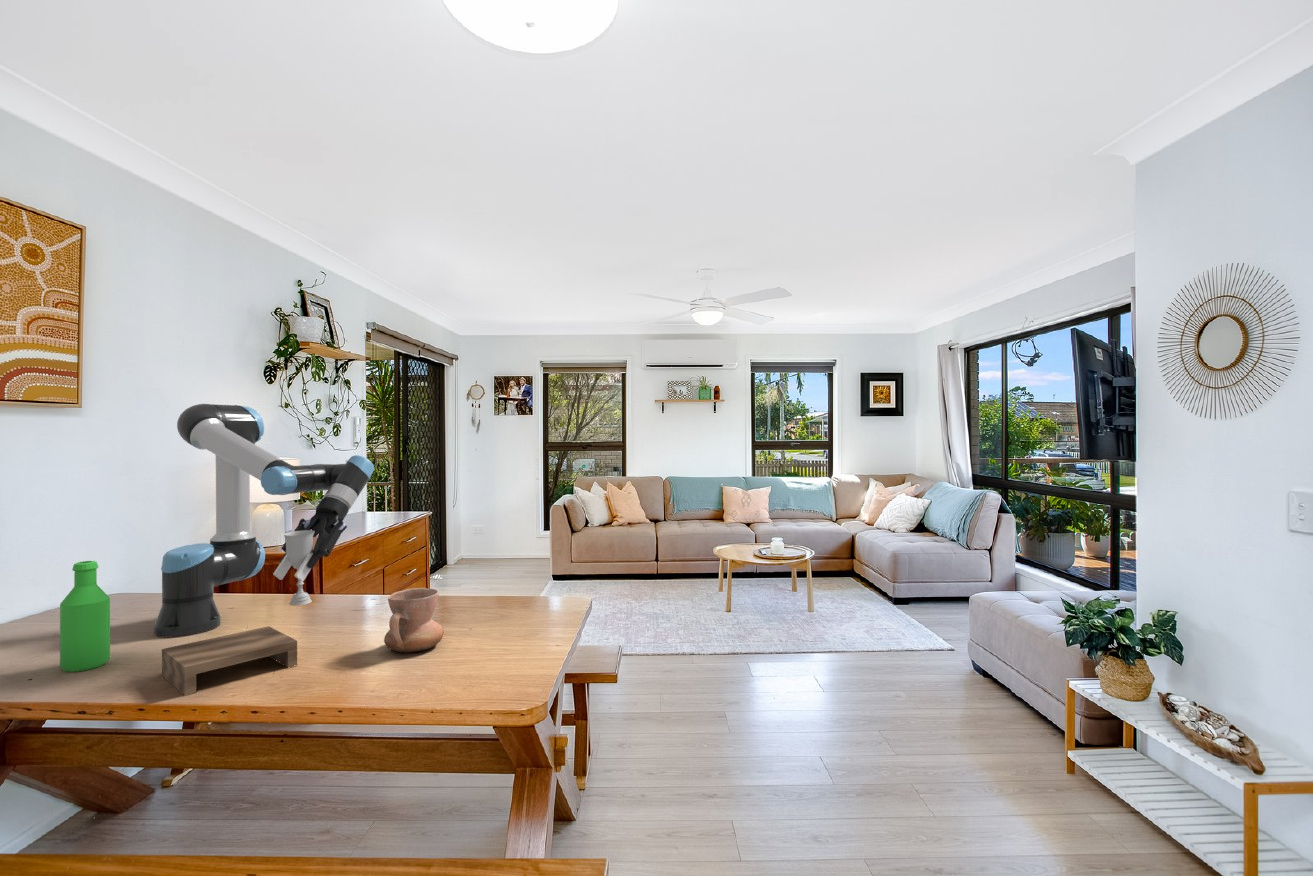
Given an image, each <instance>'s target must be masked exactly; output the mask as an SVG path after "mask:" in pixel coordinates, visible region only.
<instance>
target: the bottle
mask: <svg viewBox="0 0 1313 876" xmlns="http://www.w3.org/2000/svg"><path fill="white" fill-rule="evenodd" d="M97 569H99V564H98V562H97V561H96V560H85V561H84V560H83V561H79V562H76V563H74V564H73V566H72V571H73V572H74V577H73V578H74V580H73V581H74V582H73V583H74V585H73V587H72V589H71V590H70V591H69V592H68V594H67V595H66V596H65V598H64V599H63V600H62V601H61V602H60V604H59V606H60V607H59V668H60V670H63V671H65V672H68V673H69V672H70V673H76V672H83V671H84V672H85V671H89V670H93V669H96V668H99V667H102V666H104V665H105V664H106V663H107V662H108V661H110V660H111V597H110V596H109V595H108V594H107V593H106V592H105V591H104V590H103V589H102V588H101V587H100V586H99V585H98V584H97V579H98V578H97V576H98V575H97V572H98V571H97Z"/></svg>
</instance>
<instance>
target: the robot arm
mask: <svg viewBox="0 0 1313 876" xmlns="http://www.w3.org/2000/svg"><path fill="white" fill-rule="evenodd" d="M176 424H177V425H176V428H177V432H178V435H180V437H181V438H182V440H184V442H186V443H187V444H189V445H190V446H192V447H194V448H196V449H199V450H206V451H208V452H211V454H214V455H215V525H216V526H215V534H214V535H213V536H212V537H210V539H209V543H206V542H205V543H194V544H187V545H183V546H180V547H175V548H172V549H170V550H168V551H166V553H165V554H164V555H162V560H161V561H162V562H161V567H160V569H161V600H162V601H161V603H162V604H161V607H160V610H159V612H158V615H157V618H156V621H155V622H154V626H153V628H154V629H153V634H154V636H157V637H161V638H162V636H163V637H164V638H166V636H167V638H169V636H174V637H183V636H189V635H197V634H201V633H204V632H208V631H212V630H213V629H212V628H214V629H216V628H218V627H219V626H220V625H221V624H220V623H221V618H222V617H221V615H220V612H219V609H218V607H217V605H216V603H215V602H216V601H215V600H214V587H216V586H217V587H218V586H220V585H225V584H229V583H233V582H240V581H244V580H246V579H249V578H251V577H253V576H254V577H255V575H257V574H259V572H260V571H261V570H262V568H263V566H264V564H265V561H266V560H265V559H266V551H265V548H264V547H263V544H262V543H261V542H260V541H259V540H257V538H256V536H257V535H256V534H254V533H253V532H252V531H251V508H250V507H251V505H250V502H251V501H250V498H251V495H250V494H251V493H250V492H251V491H250V487H251V485H250V479H251V478H250V476H252V477H254V478H255V479H257V480H258V481H260V485H261V487H262V489H263V491H264V492H265V493H266V494H268V495H271V496H286V495H290V494H291V495H292V494H300V493H311V492H322V491H326V492H325V493H324V494H323V495H324V496H323V498H321V500H320V501H319V502H318V504H317V506H316V508H315V514H314V515H312V516H311V517H310V519H305V518H300V520H299V522H298V524H297V526H296V528H295V529H294V530H293V531H304V530H311V531H315V533H314V535H313V538H316V537H317V538H316V541H315V544H314V545H313V550H312V551H313V552H312V551H311V552H312V554H311V553H309V554H308V555H307V557H306V558H305V560H304V561H303V563H302V565H301V566H300V568H299V569H298V570H297V571H296V572H295V574H294V577H295V578H296V579H297V580H298V579H299V580H300V581H303V582H304V581H305V580H306V578H307V576H308V574H310V572H311V569H314V568H315V566H316V565H317V563H318V562H319V559H322V558H323V557H325V558H328V557H329V556H330V554H331V553H332V551H333V549H334V547H335V546H336V544H337V542H338V540H339V539H340V537H341V535H342V533H343V532H344V531H345V530H346V529H347V528H348V525H346V523H345V522H344V520H345V518H346V516H347V515H348V514H349V511H350V510H351V508H352V507H353V505H354V504H355V502H356V501H357V499H358V497H359V496H360V494H361V493H362V491H363V490H364V488H365V486H366V485H367V483H368V481H369V480H371V478H372V477H371V476H372V475H373V473H374V470H375V466H374V464H373V462H371V460H369V459H368V458H367V457H365V456H362V455H352V456H350V457H349V459H347V460H346V463H336V464H332V463H329V464H328V463H327V464H325V463H314V464H310V465H309V464H307V465H292V464H290V463H288V462H286V461H285V460H283V459H281V458H280V457H277V456H276V455H274V454H273V453H271V452H268V451H267V450H265V449H264V448H262V447H260V446H258V445H257V444H256V443H258V442H259V441H261V439H262V436H264V434H265V423H264V421H263V418H262V416H261V415H260V413H258V412H257V410H255V409H254V408H252V407H250V406H244V405H238V404H235V405H234V404H233V405H231V404H211V403H199V404H195V405H192V406H189V407H188V408H186V409H184V410H183V411H182V412H181V414H180V415H179V417H178V419H177V423H176ZM281 550H282V551H283V552H284V553H285V554H284V555H283V556H282V558H281V560H279V564H278V566H277V567H276V569H275V571H274V572H273V573H272V574H273V576H274V577H276V578H277V579H278V580H279V581H280V580H281V581H282V580H284V578H285V576H286V575H287V573H288V571H289V570H290V568H291V567H292V564H291V563H290V561H289V559H288V557H287V554H286V541H285V542H284V544H283V545H282V546H281ZM217 626H218V627H217ZM215 627H216V628H215ZM200 632H201V633H200Z"/></svg>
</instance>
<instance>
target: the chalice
mask: <svg viewBox="0 0 1313 876" xmlns="http://www.w3.org/2000/svg"><path fill="white" fill-rule="evenodd" d="M314 533H315V531H312V530H304V531H294V530H293V531H289V532H285V533H283V536H284V538H285V542H286V554H287V557H288V559H289V561H290V563H291V564H292V565H291V567H292V568H293V569H295V570H297V571H298V569H299V568H300V566H301V565H302V563H303V561H304V560H305V558H306V557H307V555H308V554H309V553H311V554H312V555H313V553H312V552H313V551H312V550H313V549H314V540H313V539H314V537H313V535H314ZM311 551H312V552H311ZM304 584H305V583H304V581H300V580H299V579H298V578H297V583H296V584H295V585H296V586H297V588H298V589H297V591H296V593H294V594H293V595H292V596H291V599H290V601H289V603H288V605H289V606H293V607H294V606H304V605H308V604H310V603H312V601H313V600H312V599H311V597H310V595H309V593H308V592H306V591H304V589H303V585H304Z"/></svg>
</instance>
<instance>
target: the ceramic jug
mask: <svg viewBox="0 0 1313 876" xmlns="http://www.w3.org/2000/svg"><path fill="white" fill-rule="evenodd" d="M438 599H439V590H438V589H435V588H426V587H418V588H417V587H416V588H408V589H405V590H399V591H395V592H393V593H392V594H389V596H387V601H388V607H389V609H390V612H391V614H392V615H391V616H390V618H389V621H388V624H389V629H388V631H387V632H386V633H385V635H384V637H383V642H384V645H385V646H386V647H387V648H388V649H390V650H392V651H394V652H400V653H416V652H421V651H425V650H426V651H427V650H428V649H430V648H433V647H434V646H436V645H438V643H440V642H441V641H442V639H443V636H444V632H445V631H444V628H443V626H442V625H441V624H440V623H439V622H436V621H435V620H433V619H432V617H433V615H434V612H435V610H436V607H437V604H438Z"/></svg>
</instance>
